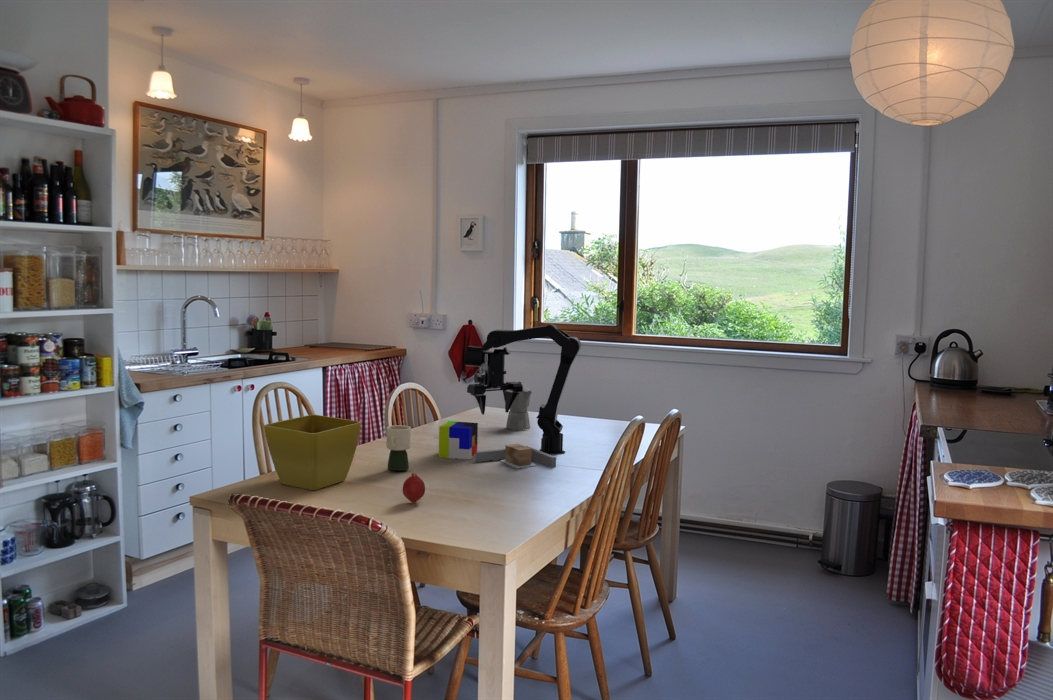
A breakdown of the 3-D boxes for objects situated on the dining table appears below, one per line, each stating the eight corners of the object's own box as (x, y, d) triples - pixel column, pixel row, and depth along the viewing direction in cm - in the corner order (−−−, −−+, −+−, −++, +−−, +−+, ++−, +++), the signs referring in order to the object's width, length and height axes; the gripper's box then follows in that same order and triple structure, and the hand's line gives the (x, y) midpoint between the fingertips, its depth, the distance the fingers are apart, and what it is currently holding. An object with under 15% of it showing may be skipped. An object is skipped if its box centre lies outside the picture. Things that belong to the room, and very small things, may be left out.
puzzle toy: (468, 459, 248) (469, 428, 247) (438, 457, 250) (439, 426, 249) (477, 452, 258) (477, 422, 257) (448, 450, 260) (448, 421, 259)
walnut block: (531, 464, 242) (531, 448, 242) (519, 466, 240) (519, 450, 239) (516, 459, 249) (517, 443, 248) (505, 460, 246) (505, 445, 246)
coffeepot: (538, 429, 298) (540, 382, 296) (521, 432, 291) (522, 384, 290) (511, 423, 309) (512, 378, 307) (493, 426, 302) (494, 379, 301)
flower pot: (313, 496, 204) (313, 433, 202) (262, 485, 213) (261, 424, 211) (362, 480, 220) (363, 421, 219) (312, 470, 230) (312, 414, 228)
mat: (519, 458, 250) (519, 458, 250) (536, 465, 242) (536, 465, 242) (500, 461, 247) (500, 460, 247) (516, 468, 238) (516, 467, 238)
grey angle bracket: (526, 455, 256) (527, 446, 256) (555, 466, 242) (556, 457, 241) (475, 461, 246) (475, 451, 246) (502, 473, 232) (502, 463, 231)
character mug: (393, 465, 238) (394, 423, 237) (416, 467, 237) (416, 424, 235) (379, 473, 228) (380, 430, 226) (402, 475, 226) (403, 431, 225)
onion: (403, 499, 203) (403, 469, 202) (425, 499, 204) (425, 469, 203) (401, 506, 197) (401, 475, 196) (424, 506, 198) (424, 475, 197)
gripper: (507, 363, 273) (506, 407, 275) (460, 365, 263) (459, 411, 265) (524, 367, 264) (523, 412, 265) (475, 369, 254) (474, 417, 255)
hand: (494, 413), depth 263 cm, fingers open, 9 cm apart
